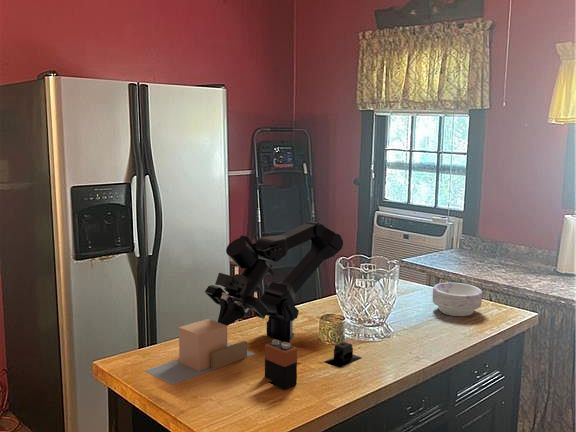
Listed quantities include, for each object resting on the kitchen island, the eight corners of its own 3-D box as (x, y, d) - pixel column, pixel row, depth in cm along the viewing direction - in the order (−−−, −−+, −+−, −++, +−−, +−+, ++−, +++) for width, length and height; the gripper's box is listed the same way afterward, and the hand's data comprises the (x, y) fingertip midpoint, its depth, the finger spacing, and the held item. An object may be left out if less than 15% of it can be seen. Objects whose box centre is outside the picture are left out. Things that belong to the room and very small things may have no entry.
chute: (227, 347, 165) (226, 328, 164) (255, 358, 157) (255, 338, 156) (144, 375, 146) (144, 354, 145) (172, 389, 138) (172, 367, 138)
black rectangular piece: (347, 351, 164) (347, 335, 163) (369, 359, 159) (370, 342, 158) (316, 364, 155) (317, 347, 154) (339, 373, 150) (339, 355, 149)
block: (207, 352, 157) (207, 318, 156) (227, 360, 152) (227, 325, 151) (179, 362, 151) (178, 327, 149) (198, 370, 146) (198, 334, 144)
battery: (284, 390, 138) (284, 348, 137) (263, 381, 143) (263, 340, 142) (297, 385, 141) (298, 343, 140) (277, 376, 146) (277, 336, 145)
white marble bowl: (479, 322, 187) (480, 297, 186) (428, 316, 192) (429, 291, 191) (482, 308, 201) (484, 284, 200) (435, 303, 206) (436, 280, 205)
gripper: (210, 255, 162) (176, 304, 155) (260, 266, 149) (225, 320, 143) (232, 278, 168) (201, 326, 162) (281, 292, 156) (250, 344, 150)
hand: (218, 329), depth 154 cm, fingers closed, pressing on block
